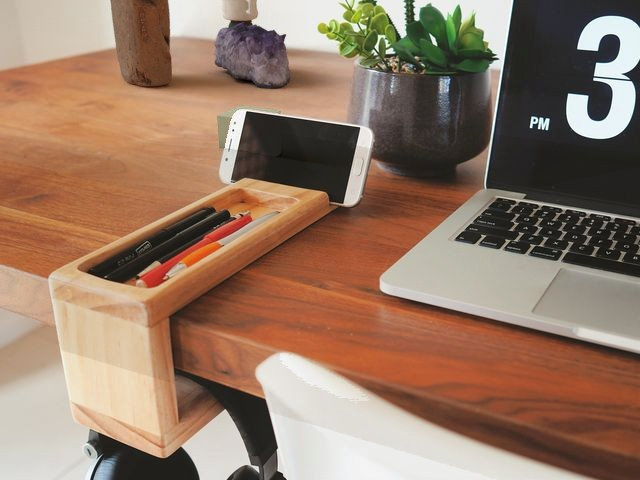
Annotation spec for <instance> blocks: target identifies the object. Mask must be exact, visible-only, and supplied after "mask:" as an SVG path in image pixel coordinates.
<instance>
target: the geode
mask: <svg viewBox="0 0 640 480" xmlns="http://www.w3.org/2000/svg"><path fill="white" fill-rule="evenodd" d="M286 37H287V33H283V34H279V33H278V32H277V31H276V30H275V29H271V30H267V29H266V28H263V27H262V26H261V25H258V24H257V23H256V24H255V23H254V24H253V25H252V26H247V25H245V23H244V22H242V23H239V24H237V25H235V26H234V27H232V28H228V26H227V27H222V28H220V29H219V30H218V32H217V34H216V37H215V41H214V43H213V45H214V48H215V49H214V65H215V66H217V68H222V69H223V70H226V72H227V73H228V74H229V75H231V77H232V78H233V79H234V80H245V81H252V82H253V84H254V85H255V86H256V87H257V88H262V89H276V88H277V89H278V88H283V87H284V86H286V85H287V84H288V83H289V82H290V81H291V73H290V66H289V65H290V60H289V56H288V51H287V47H286V46H287V45H286V44H285V40H286Z"/></svg>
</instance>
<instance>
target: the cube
mask: <svg viewBox="0 0 640 480" xmlns="http://www.w3.org/2000/svg"><path fill="white" fill-rule="evenodd" d="M239 109H253V110H260V111H266V112H272V113H278V114H281V113H282V112H281V110H279V109H272V108H266V107H265V108H264V107H257V106H251V105H250V106H249V105H239V106H236V107H234V108H232V109H229V110H226V111H224V112H222V113H219V114H217V115H216V123H217V124H216V125H217V138H218V148H219V149H224V148H225V143H226V138H227V134H228V130H229V125H230V121H231V119H232V116H233V114H234V113H235V112H236V111H237V110H239ZM224 150H225V149H224Z"/></svg>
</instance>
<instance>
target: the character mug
mask: <svg viewBox="0 0 640 480" xmlns="http://www.w3.org/2000/svg"><path fill="white" fill-rule="evenodd" d="M257 2H258V0H221V9H222V11H221V12H222V18H223V19H224V20H228V21H229V23H228V26H227V27H228V28H232V27H234V26H235V25H237V24H239V23H242V22H244V23H245V25H247V26H252V25H254V24H253V20H255V19H257V18H258V17H259V11H258V7H257Z"/></svg>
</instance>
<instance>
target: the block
mask: <svg viewBox="0 0 640 480" xmlns="http://www.w3.org/2000/svg"><path fill="white" fill-rule="evenodd" d="M110 9H111V19H112V20H111V21H112V26H113V35H114V42H115V50H116V56H117V57H116V58H117V61H118V64H119V65H118V66H119V71H120V75H121V78H122V79H123V80H124V81H125V82H127V83H129V84H131V85H136V86H140V87H159V86H165V85H167V84H169V83H170V82H172V79H173V64H172V55H171V14H170V4H169V0H110Z"/></svg>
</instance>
